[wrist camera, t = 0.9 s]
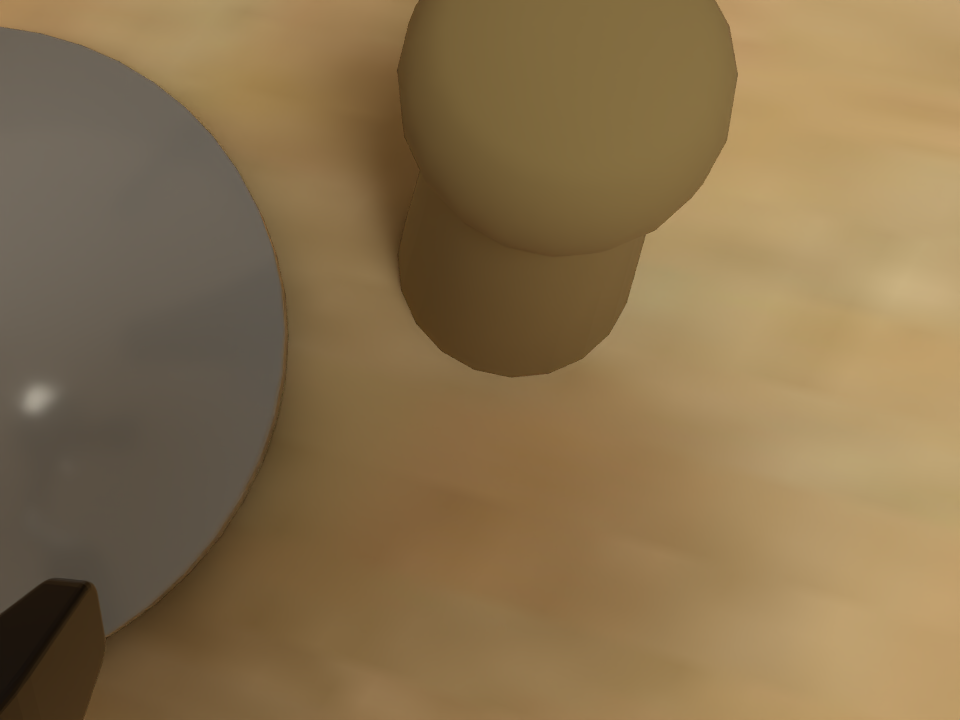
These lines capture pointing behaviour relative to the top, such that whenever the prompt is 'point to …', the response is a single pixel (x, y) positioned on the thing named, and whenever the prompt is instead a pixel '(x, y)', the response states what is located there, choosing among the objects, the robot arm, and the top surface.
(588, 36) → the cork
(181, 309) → the plate
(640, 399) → the top surface
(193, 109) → the top surface
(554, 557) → the top surface
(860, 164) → the top surface
